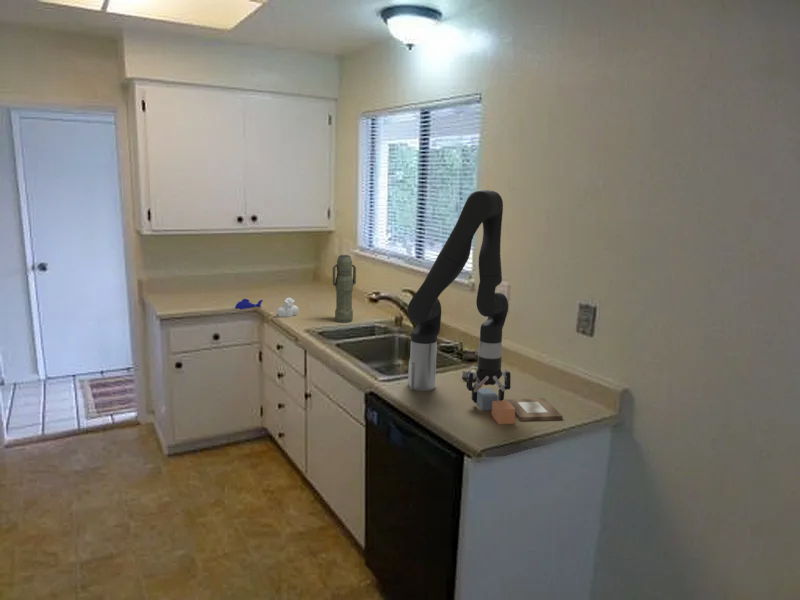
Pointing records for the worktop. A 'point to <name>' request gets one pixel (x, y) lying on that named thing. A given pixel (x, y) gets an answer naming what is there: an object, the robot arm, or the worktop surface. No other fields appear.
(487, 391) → the slate brick
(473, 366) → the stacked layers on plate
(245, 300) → the fish toy
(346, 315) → the thermos
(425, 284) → the robot arm
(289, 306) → the bust
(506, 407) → the terracotta brick
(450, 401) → the worktop surface
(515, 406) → the plate
